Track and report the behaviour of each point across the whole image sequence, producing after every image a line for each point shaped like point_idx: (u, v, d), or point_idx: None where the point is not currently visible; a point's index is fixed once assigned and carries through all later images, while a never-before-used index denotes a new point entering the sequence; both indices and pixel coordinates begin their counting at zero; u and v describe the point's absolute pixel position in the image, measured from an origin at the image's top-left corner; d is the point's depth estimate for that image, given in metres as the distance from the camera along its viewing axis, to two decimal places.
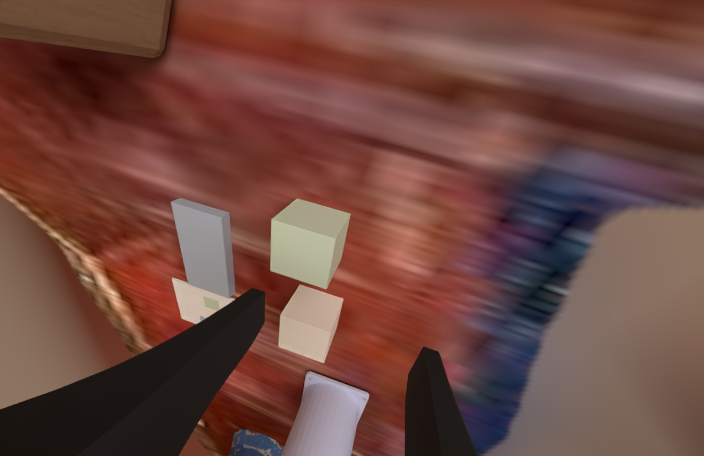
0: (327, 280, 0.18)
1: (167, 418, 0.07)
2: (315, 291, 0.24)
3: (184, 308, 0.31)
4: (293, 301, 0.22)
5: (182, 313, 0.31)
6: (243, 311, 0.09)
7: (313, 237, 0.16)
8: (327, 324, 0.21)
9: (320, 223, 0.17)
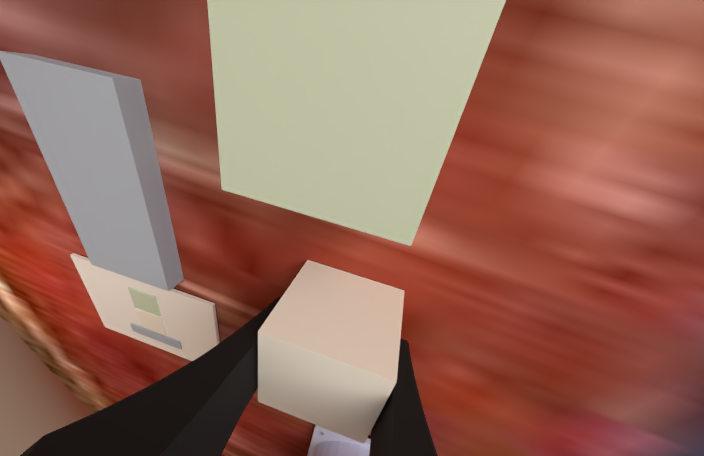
0: (421, 211, 0.05)
1: (207, 435, 0.07)
2: (341, 275, 0.11)
3: (104, 310, 0.18)
4: (293, 296, 0.09)
5: (103, 318, 0.18)
6: None
7: None
8: (383, 356, 0.08)
9: None
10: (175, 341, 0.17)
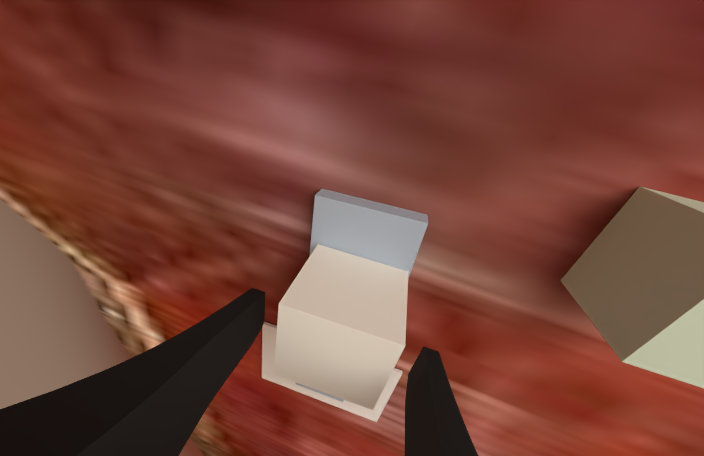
0: None
1: (167, 418, 0.07)
2: (350, 258, 0.12)
3: (270, 365, 0.20)
4: (307, 275, 0.10)
5: (265, 371, 0.20)
6: (243, 311, 0.09)
7: None
8: (392, 325, 0.09)
9: None
10: None
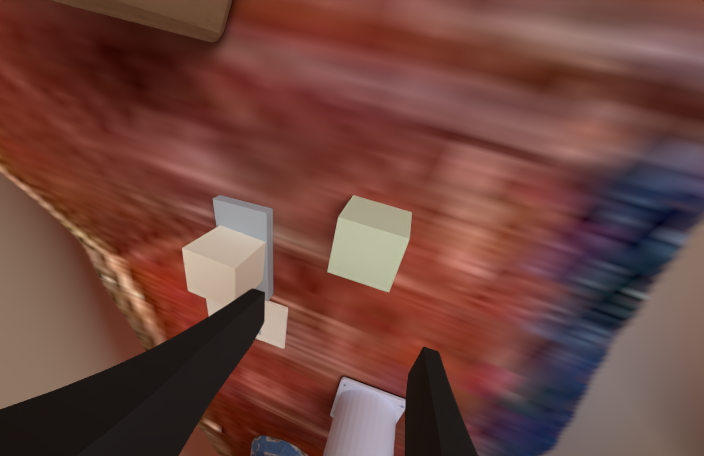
0: (391, 283, 0.17)
1: (167, 418, 0.07)
2: (234, 233, 0.21)
3: (213, 311, 0.29)
4: (204, 238, 0.20)
5: None
6: (243, 311, 0.09)
7: (384, 237, 0.15)
8: (234, 261, 0.19)
9: (387, 221, 0.16)
10: None
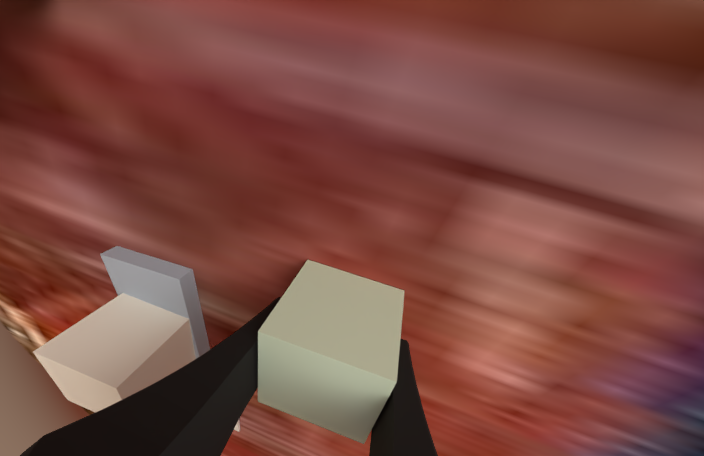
0: (367, 432, 0.09)
1: (207, 435, 0.07)
2: (142, 306, 0.14)
3: None
4: (83, 324, 0.13)
5: None
6: None
7: (347, 372, 0.08)
8: (121, 370, 0.11)
9: (357, 329, 0.09)
10: None
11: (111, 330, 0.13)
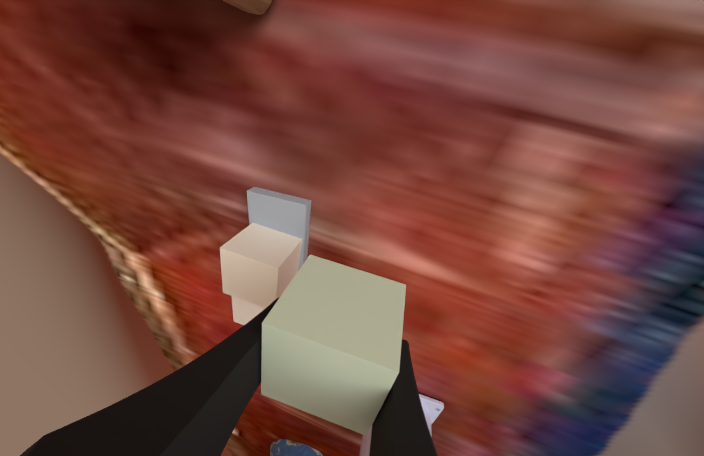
0: (370, 424, 0.09)
1: (207, 435, 0.07)
2: (269, 230, 0.20)
3: (238, 310, 0.28)
4: (239, 237, 0.19)
5: (235, 315, 0.29)
6: None
7: (350, 363, 0.08)
8: (276, 260, 0.18)
9: (359, 321, 0.09)
10: None
11: (258, 241, 0.19)
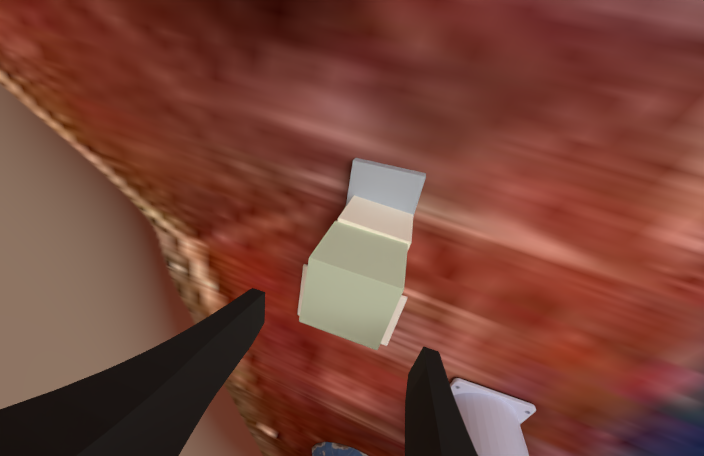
0: (380, 339, 0.13)
1: (167, 418, 0.07)
2: (375, 204, 0.18)
3: None
4: (351, 208, 0.16)
5: None
6: (243, 311, 0.09)
7: (369, 285, 0.11)
8: (403, 234, 0.15)
9: (375, 261, 0.12)
10: None
11: (371, 213, 0.16)
